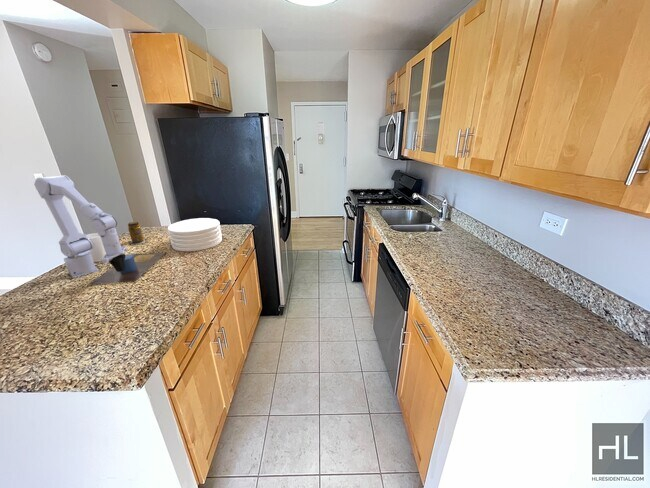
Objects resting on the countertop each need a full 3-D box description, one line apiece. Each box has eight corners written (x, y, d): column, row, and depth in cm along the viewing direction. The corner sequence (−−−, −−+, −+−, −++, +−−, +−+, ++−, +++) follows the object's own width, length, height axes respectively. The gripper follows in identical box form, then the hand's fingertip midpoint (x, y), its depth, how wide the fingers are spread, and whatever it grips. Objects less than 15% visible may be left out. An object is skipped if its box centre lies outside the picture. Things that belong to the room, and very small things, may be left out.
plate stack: (231, 236, 168) (228, 219, 163) (201, 253, 143) (197, 233, 138) (195, 233, 175) (192, 216, 170) (160, 248, 150) (155, 229, 145)
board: (134, 282, 114) (134, 281, 114) (89, 284, 111) (89, 284, 111) (166, 253, 143) (165, 252, 143) (130, 255, 141) (130, 254, 141)
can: (123, 274, 120) (119, 261, 117) (117, 270, 123) (113, 258, 121) (139, 269, 125) (135, 256, 122) (133, 265, 128) (129, 253, 126)
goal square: (147, 261, 133) (147, 261, 133) (128, 262, 132) (128, 262, 132) (155, 254, 141) (155, 254, 141) (138, 255, 140) (138, 255, 140)
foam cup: (108, 254, 142) (101, 231, 137) (113, 258, 136) (105, 235, 131) (86, 259, 135) (77, 236, 130) (90, 264, 129) (81, 240, 125)
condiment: (144, 238, 164) (139, 220, 160) (145, 242, 158) (140, 223, 154) (130, 241, 160) (124, 222, 156) (131, 245, 154) (125, 226, 150)
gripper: (111, 249, 107) (120, 278, 112) (130, 237, 120) (138, 263, 125) (92, 250, 106) (102, 279, 111) (114, 237, 120) (122, 264, 124)
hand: (120, 270), depth 118 cm, fingers closed
